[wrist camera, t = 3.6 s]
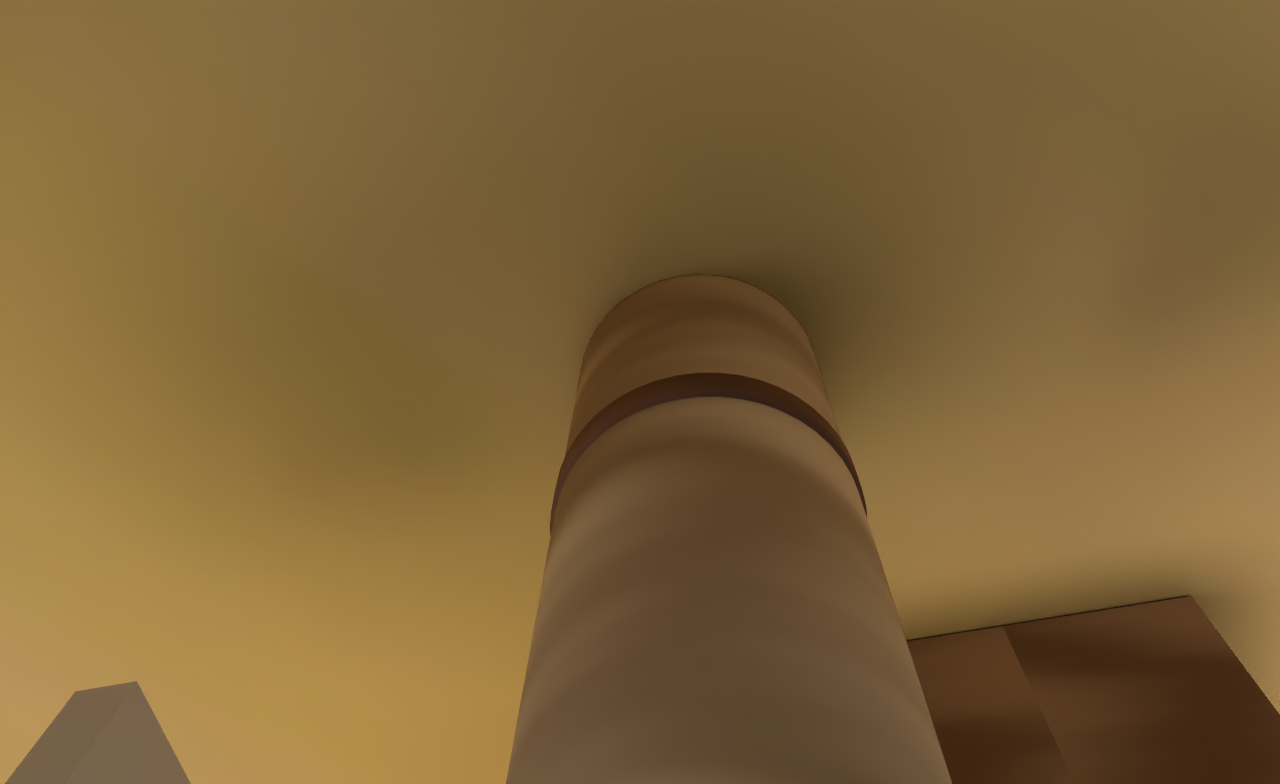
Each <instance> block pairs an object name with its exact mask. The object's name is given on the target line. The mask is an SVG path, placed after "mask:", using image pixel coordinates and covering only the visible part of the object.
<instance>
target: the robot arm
mask: <svg viewBox="0 0 1280 784" xmlns="http://www.w3.org/2000/svg"><path fill="white" fill-rule="evenodd" d="M5 784H191V783H190V781H189V780H188V778H187V776H186V774H185V772H184V770H183V768H182V766H181V764H180V762H179V761H178V759H177V757H176V755H175V753H174V751H173V749H172V747H171V745H170V743H169V742H168V740H167V738H166V736H165V734H164V732H163V730H162V728H161V726H160V724H159V722H158V721H157V719H156V717H155V715H154V713H153V711H152V709H151V707H150V705H149V703H148V702H147V700H146V698H145V696H144V694H143V692H142V690H141V688H140V686H139V684H138V683H137V681H136V682H130V683H124V684H118V685H112V686H106V687H100V688H94V689H88V690H82V691H76V692H75V693H74V694H73V695H72V697H71V698H70V699H69V701H68V702H67V703H66V705H65V706H64V707H63V709H62V710H61V711H60V712H59V714H58V715H57V716H56V718H55V719H54V720H53V722H52V723H51V724H50V725H49V727H48V728H47V729H46V731H45V732H44V733H43V735H42V736H41V737H40V739H39V740H38V741H37V742H36V744H35V745H34V746H33V748H32V749H31V750H30V752H29V753H28V754H27V755H26V757H25V758H24V759H23V761H22V762H21V763H20V765H19V766H18V767H17V769H16V770H15V771H14V772H13V774H12V775H11V776H10V778H9V779H8V780H7V782H6V783H5Z"/></svg>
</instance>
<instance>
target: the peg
mask: <svg viewBox="0 0 1280 784" xmlns="http://www.w3.org/2000/svg"><path fill="white" fill-rule="evenodd" d="M550 535H551V538H550V543H549V549H548V554H547V560H546V565H545V571H544V576H543V582H542V588H541V593H540V599H539V604H538V610H537V615H536V621H535V626H534V632H533V637H532V643H531V648H530V654H529V660H528V665H527V671H526V676H525V682H524V687H523V693H522V698H521V704H520V709H519V715H518V720H517V726H516V731H515V737H514V743H513V748H512V754H511V759H510V765H509V770H508V776H507V781H506V784H952V782H951V778H950V775H949V772H948V769H947V766H946V763H945V760H944V757H943V754H942V750H941V747H940V744H939V741H938V738H937V735H936V732H935V729H934V726H933V722H932V719H931V716H930V713H929V710H928V707H927V704H926V701H925V698H924V694H923V691H922V688H921V685H920V682H919V679H918V676H917V673H916V669H915V666H914V663H913V660H912V657H911V654H910V651H909V648H908V645H907V641H906V638H905V635H904V632H903V629H902V626H901V623H900V620H899V617H898V613H897V610H896V607H895V604H894V601H893V598H892V595H891V592H890V588H889V585H888V582H887V579H886V576H885V573H884V570H883V567H882V564H881V560H880V557H879V554H878V551H877V548H876V545H875V542H874V539H873V536H872V532H871V529H870V526H869V523H868V520H867V510H866V504H865V500H864V496H863V492H862V488H861V485H860V482H859V479H858V476H857V473H856V470H855V467H854V464H853V462H852V459H851V457H850V455H849V452H848V450H847V448H846V447H845V445H844V443H843V441H842V439H841V436H840V433H839V430H838V427H837V423H836V420H835V417H834V414H833V411H832V408H831V405H830V402H829V398H828V395H827V392H826V389H825V386H824V383H823V380H822V377H821V374H820V370H819V367H818V364H817V361H816V358H815V355H814V352H813V349H812V347H811V344H810V342H809V339H808V337H807V335H806V334H805V332H804V330H803V329H802V327H801V325H800V324H799V323H798V321H797V320H796V319H795V318H794V316H793V315H792V314H791V313H790V312H789V311H788V310H787V309H786V308H785V307H784V306H783V305H782V304H781V303H780V302H778V301H777V300H776V299H774V298H773V297H771V296H770V295H769V294H767V293H765V292H763V291H762V290H760V289H758V288H756V287H754V286H752V285H749V284H747V283H744V282H741V281H739V280H734V279H730V278H726V277H721V276H712V275H688V276H681V277H674V278H670V279H667V280H663V281H659V282H657V283H654V284H652V285H649V286H647V287H644V288H642V289H641V290H639V291H637V292H635V293H634V294H632V295H630V296H629V297H627V298H626V299H625V300H623V301H622V302H621V303H619V304H618V305H617V306H616V307H615V308H614V309H613V310H612V311H611V312H610V313H609V314H608V315H607V316H606V317H605V318H604V320H603V321H602V322H601V324H600V325H599V326H598V327H597V329H596V331H595V333H594V334H593V336H592V338H591V340H590V342H589V344H588V347H587V349H586V352H585V354H584V358H583V362H582V367H581V372H580V377H579V383H578V388H577V394H576V399H575V405H574V410H573V416H572V422H571V427H570V433H569V438H568V444H567V449H566V455H565V459H564V461H563V464H562V466H561V468H560V472H559V476H558V480H557V484H556V489H555V494H554V500H553V505H552V510H551V522H550Z"/></svg>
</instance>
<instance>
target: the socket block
mask: <svg viewBox="0 0 1280 784" xmlns="http://www.w3.org/2000/svg"><path fill="white" fill-rule="evenodd" d="M907 645H908V648H909V651H910V654H911V657H912V660H913V663H914V666H915V669H916V673H917V676H918V679H919V682H920V685H921V688H922V691H923V694H924V698H925V701H926V704H927V707H928V710H929V713H930V716H931V719H932V722H933V726H934V729H935V732H936V735H937V738H938V741H939V744H940V747H941V750H942V754H943V757H944V760H945V763H946V766H947V769H948V772H949V775H950V778H951V782H952V784H1280V715H1279V713H1278V712H1277V711H1276V709H1275V708H1274V707H1273V705H1272V704H1271V703H1270V701H1269V700H1268V699H1267V697H1266V696H1265V695H1264V693H1263V692H1262V691H1261V689H1260V688H1259V686H1258V685H1257V684H1256V682H1255V681H1254V680H1253V678H1252V677H1251V676H1250V674H1249V673H1248V672H1247V670H1246V669H1245V668H1244V666H1243V665H1242V664H1241V662H1240V661H1239V660H1238V658H1237V657H1236V656H1235V654H1234V653H1233V652H1232V650H1231V649H1230V648H1229V646H1228V645H1227V644H1226V642H1225V641H1224V640H1223V638H1222V637H1221V636H1220V634H1219V633H1218V632H1217V630H1216V629H1215V628H1214V626H1213V625H1212V624H1211V622H1210V621H1209V620H1208V618H1207V617H1206V616H1205V614H1204V613H1203V612H1202V610H1201V609H1200V608H1199V606H1198V605H1197V604H1196V602H1195V601H1194V600H1193V598H1192V597H1191V596H1189V597H1183V598H1176V599H1170V600H1164V601H1158V602H1151V603H1145V604H1139V605H1132V606H1126V607H1120V608H1114V609H1107V610H1101V611H1095V612H1089V613H1082V614H1076V615H1070V616H1064V617H1057V618H1051V619H1045V620H1038V621H1032V622H1026V623H1020V624H1013V625H1007V626H1001V627H995V628H988V629H982V630H976V631H969V632H963V633H957V634H951V635H944V636H938V637H932V638H926V639H919V640H913V641H907Z"/></svg>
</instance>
